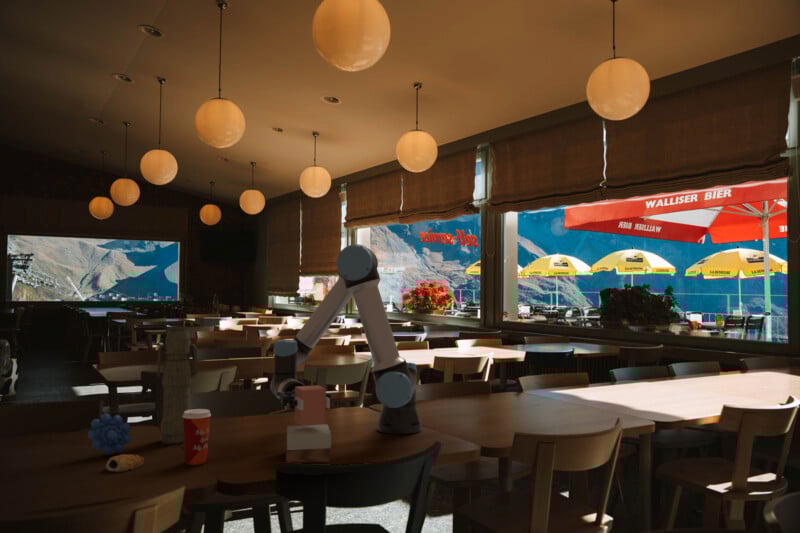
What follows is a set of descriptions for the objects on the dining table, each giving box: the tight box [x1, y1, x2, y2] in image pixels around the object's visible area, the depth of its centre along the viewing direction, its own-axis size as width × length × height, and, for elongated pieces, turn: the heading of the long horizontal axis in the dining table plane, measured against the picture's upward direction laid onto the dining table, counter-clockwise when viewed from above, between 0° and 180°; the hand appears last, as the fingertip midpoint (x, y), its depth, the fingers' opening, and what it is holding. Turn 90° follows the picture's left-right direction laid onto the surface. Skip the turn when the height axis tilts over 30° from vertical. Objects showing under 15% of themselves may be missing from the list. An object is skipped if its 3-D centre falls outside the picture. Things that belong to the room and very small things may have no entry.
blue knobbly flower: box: [87, 412, 132, 456], centre depth 175 cm, size 12×7×12 cm, turn 128°
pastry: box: [105, 453, 145, 473], centre depth 164 cm, size 9×7×4 cm
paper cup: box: [182, 408, 212, 466], centre depth 169 cm, size 8×8×14 cm
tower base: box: [285, 447, 331, 463], centre depth 176 cm, size 12×12×4 cm
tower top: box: [286, 424, 332, 450], centre depth 176 cm, size 12×12×4 cm
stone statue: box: [157, 328, 199, 445], centre depth 194 cm, size 9×12×35 cm
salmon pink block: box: [294, 384, 327, 426], centre depth 177 cm, size 7×7×10 cm
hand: (315, 404), depth 172 cm, fingers closed on salmon pink block, 7 cm apart
